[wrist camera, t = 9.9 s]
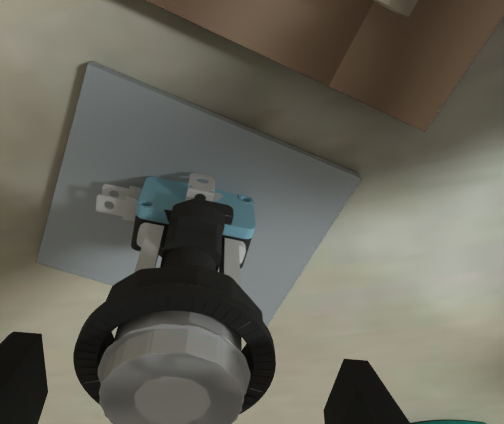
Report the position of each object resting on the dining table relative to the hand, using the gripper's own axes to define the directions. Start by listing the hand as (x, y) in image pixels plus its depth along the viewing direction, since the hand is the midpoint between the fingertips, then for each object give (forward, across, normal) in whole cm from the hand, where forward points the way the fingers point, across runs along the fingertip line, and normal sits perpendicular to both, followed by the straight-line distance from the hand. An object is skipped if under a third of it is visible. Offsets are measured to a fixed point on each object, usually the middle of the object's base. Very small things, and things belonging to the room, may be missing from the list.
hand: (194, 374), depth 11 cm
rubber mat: (+10, +1, +2) cm, 10 cm away
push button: (+10, +1, +1) cm, 10 cm away
